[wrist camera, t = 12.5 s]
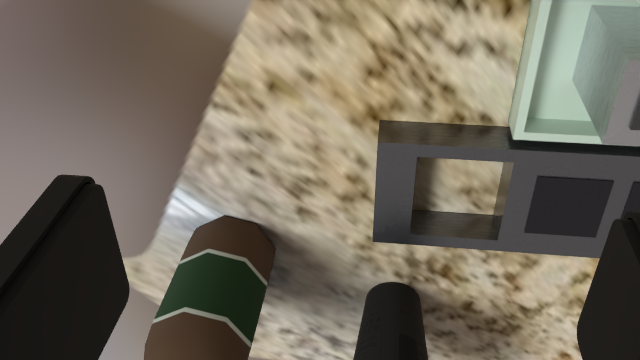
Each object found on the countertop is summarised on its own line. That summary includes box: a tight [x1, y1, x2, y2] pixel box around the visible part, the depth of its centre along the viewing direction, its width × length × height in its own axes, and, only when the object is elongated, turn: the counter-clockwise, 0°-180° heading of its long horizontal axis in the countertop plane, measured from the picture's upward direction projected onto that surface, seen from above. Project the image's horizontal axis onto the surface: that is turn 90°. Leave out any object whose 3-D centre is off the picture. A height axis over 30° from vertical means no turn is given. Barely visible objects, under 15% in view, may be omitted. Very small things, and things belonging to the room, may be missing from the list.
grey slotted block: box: [373, 120, 640, 258], centre depth 45 cm, size 9×20×3 cm, turn 91°
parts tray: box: [508, 0, 640, 146], centre depth 38 cm, size 12×12×2 cm
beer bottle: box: [144, 216, 276, 360], centre depth 44 cm, size 8×8×24 cm
